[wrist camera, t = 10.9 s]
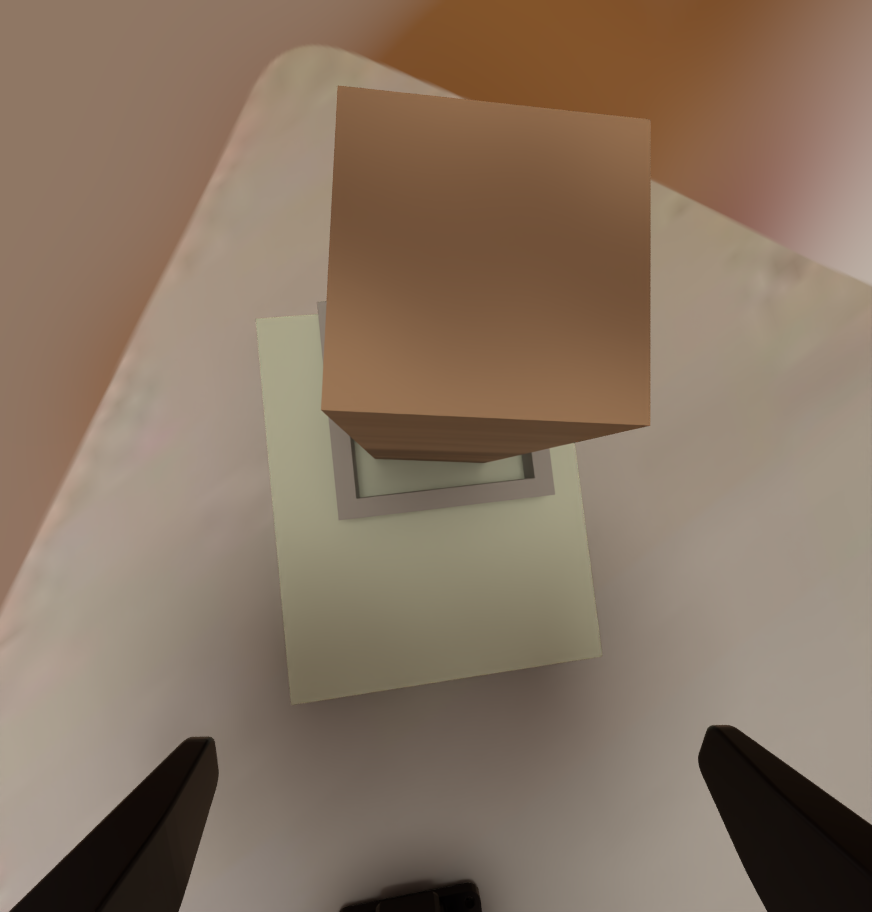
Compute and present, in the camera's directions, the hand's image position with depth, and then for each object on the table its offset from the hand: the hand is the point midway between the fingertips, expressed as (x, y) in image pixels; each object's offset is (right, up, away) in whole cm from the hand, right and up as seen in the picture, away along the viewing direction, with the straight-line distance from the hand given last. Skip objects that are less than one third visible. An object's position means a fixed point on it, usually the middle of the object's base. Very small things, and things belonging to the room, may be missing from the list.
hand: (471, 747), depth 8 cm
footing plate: (-1, +4, +13) cm, 14 cm away
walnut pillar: (-1, +7, +12) cm, 14 cm away
